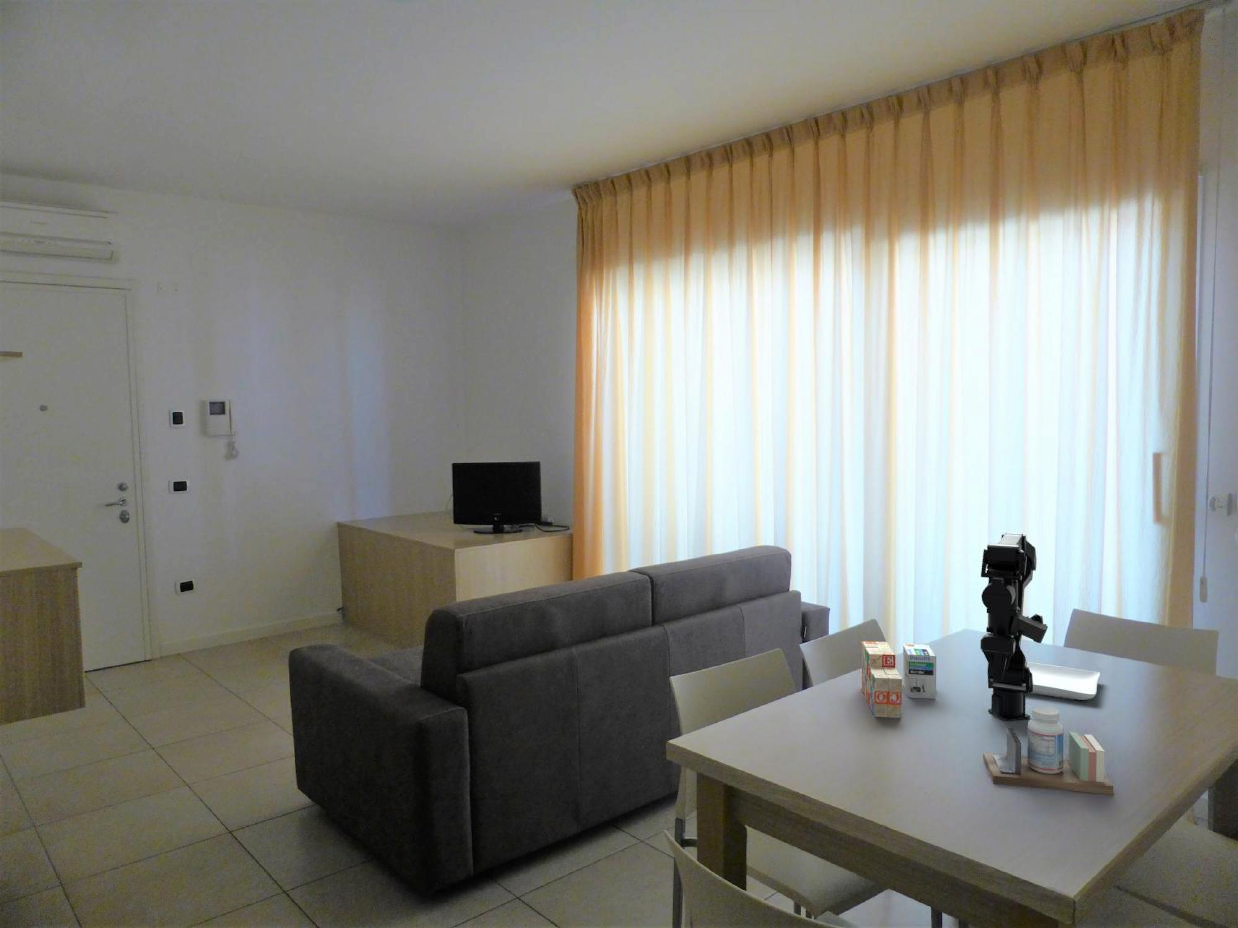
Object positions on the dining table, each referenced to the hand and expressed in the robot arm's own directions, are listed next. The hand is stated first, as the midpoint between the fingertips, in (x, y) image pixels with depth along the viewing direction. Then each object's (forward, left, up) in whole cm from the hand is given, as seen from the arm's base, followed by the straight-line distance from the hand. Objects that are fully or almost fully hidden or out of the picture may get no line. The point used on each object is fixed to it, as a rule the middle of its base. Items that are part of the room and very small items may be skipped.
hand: (1001, 675), depth 179 cm
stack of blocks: (+13, -26, -13) cm, 32 cm away
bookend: (+12, +17, -12) cm, 24 cm away
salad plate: (-34, -25, -14) cm, 44 cm away
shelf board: (+6, +20, -13) cm, 25 cm away
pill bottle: (+6, +20, -12) cm, 24 cm away
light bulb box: (0, -30, -13) cm, 33 cm away
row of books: (0, +23, -12) cm, 26 cm away
